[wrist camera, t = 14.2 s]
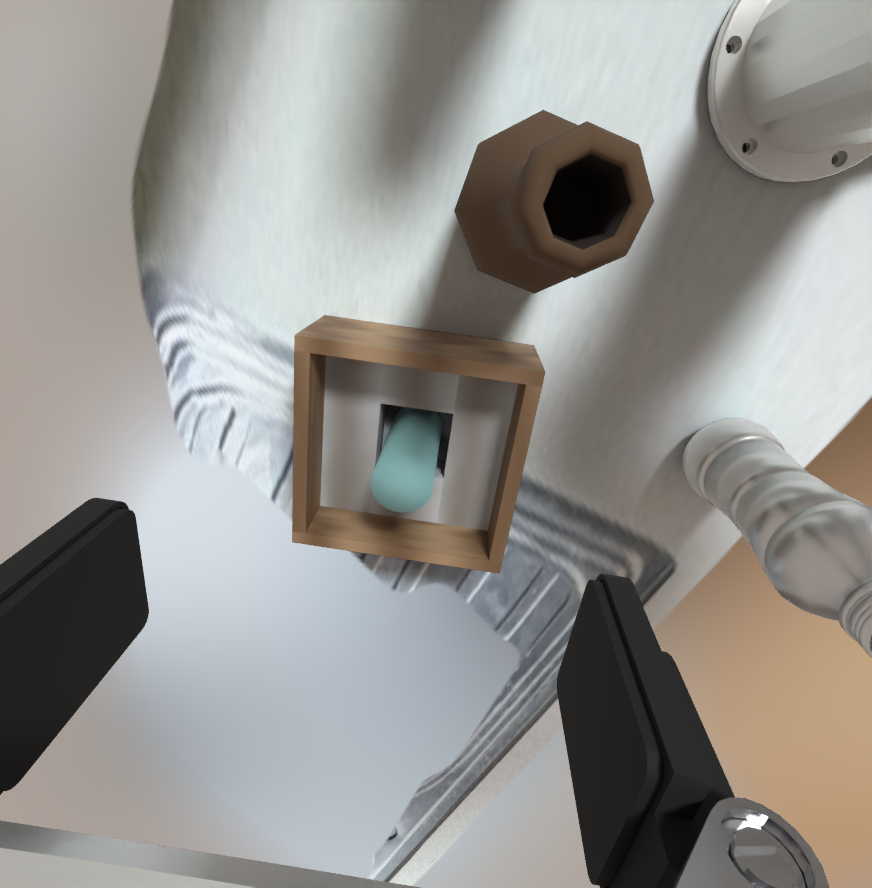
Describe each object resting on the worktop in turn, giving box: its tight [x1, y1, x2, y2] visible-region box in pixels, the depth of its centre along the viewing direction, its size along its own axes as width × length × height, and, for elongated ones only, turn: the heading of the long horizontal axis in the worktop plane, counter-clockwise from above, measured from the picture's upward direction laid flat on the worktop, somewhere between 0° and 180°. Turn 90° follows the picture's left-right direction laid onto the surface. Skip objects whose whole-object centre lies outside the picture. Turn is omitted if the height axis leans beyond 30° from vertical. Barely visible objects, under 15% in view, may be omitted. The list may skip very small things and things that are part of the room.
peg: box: [371, 407, 442, 512], centre depth 37 cm, size 4×4×10 cm
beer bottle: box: [454, 110, 654, 293], centre depth 24 cm, size 8×8×24 cm
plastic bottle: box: [682, 418, 872, 657], centre depth 32 cm, size 6×7×20 cm
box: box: [292, 315, 545, 573], centre depth 39 cm, size 16×16×7 cm
